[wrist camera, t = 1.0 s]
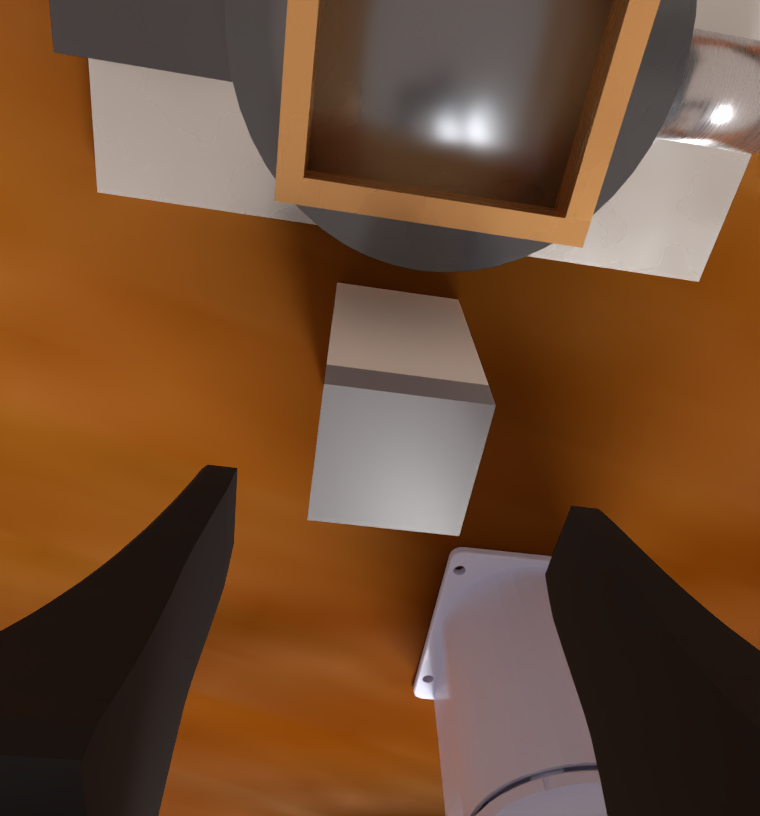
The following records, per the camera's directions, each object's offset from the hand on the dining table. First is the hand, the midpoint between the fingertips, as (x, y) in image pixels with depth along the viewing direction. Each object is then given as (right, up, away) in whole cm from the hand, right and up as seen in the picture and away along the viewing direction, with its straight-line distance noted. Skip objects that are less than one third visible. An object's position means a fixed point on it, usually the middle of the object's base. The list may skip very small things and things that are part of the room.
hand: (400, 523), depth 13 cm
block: (0, +5, +8) cm, 9 cm away
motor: (+1, +12, +4) cm, 13 cm away
